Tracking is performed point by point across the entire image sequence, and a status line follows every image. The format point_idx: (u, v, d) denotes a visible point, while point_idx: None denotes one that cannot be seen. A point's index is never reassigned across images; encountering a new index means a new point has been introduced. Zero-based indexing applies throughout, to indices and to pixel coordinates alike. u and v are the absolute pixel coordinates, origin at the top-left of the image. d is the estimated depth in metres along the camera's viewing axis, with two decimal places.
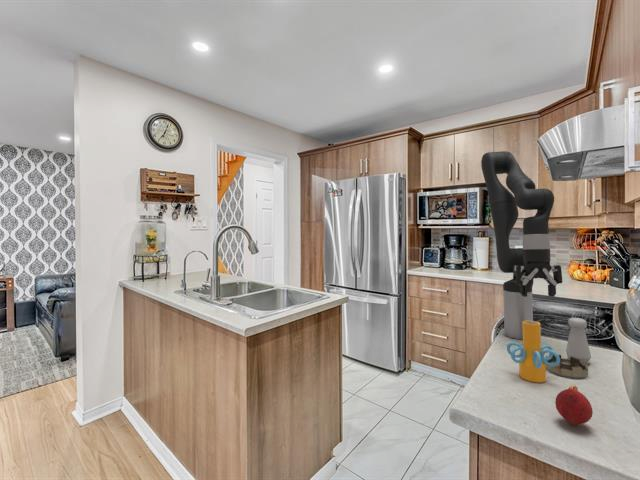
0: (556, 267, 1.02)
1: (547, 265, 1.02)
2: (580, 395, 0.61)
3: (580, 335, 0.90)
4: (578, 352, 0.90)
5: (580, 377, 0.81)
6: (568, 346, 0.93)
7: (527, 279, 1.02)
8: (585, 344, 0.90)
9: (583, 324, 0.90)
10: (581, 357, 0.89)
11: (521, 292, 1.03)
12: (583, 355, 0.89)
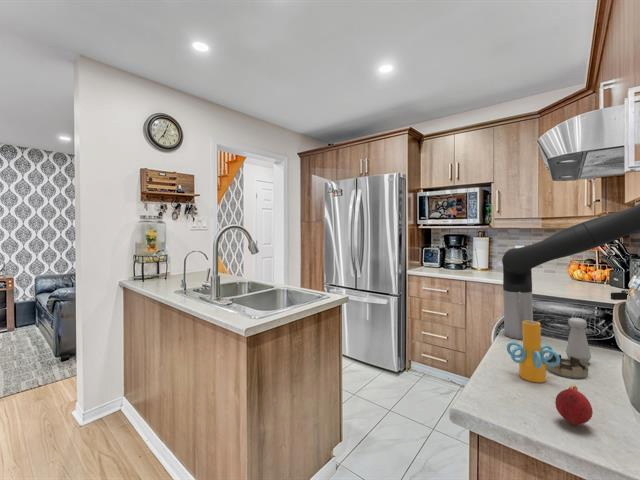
0: None
1: None
2: (580, 395, 0.61)
3: (580, 335, 0.90)
4: (578, 352, 0.90)
5: (580, 377, 0.81)
6: (568, 346, 0.93)
7: None
8: (585, 344, 0.90)
9: (583, 324, 0.90)
10: (581, 357, 0.89)
11: None
12: (583, 355, 0.89)
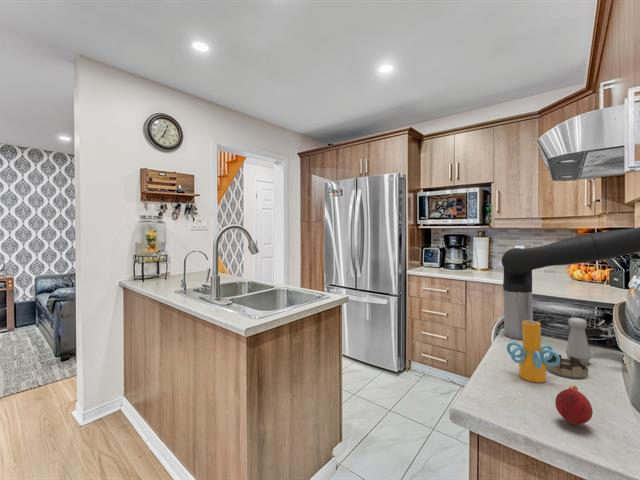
0: None
1: None
2: (580, 395, 0.61)
3: (580, 335, 0.90)
4: (578, 352, 0.90)
5: (580, 377, 0.81)
6: (568, 346, 0.93)
7: None
8: (585, 344, 0.90)
9: (583, 324, 0.90)
10: (581, 357, 0.89)
11: (615, 343, 0.86)
12: (583, 355, 0.89)
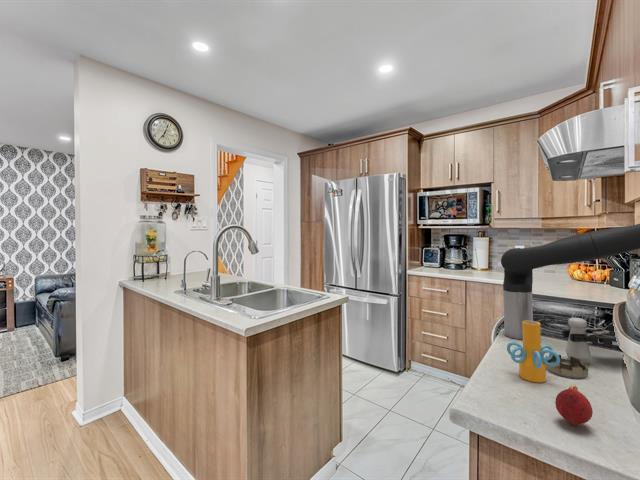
0: None
1: None
2: (580, 395, 0.61)
3: None
4: (578, 352, 0.90)
5: (580, 377, 0.81)
6: (568, 346, 0.93)
7: None
8: (585, 344, 0.90)
9: (583, 324, 0.90)
10: (581, 357, 0.89)
11: (578, 339, 0.89)
12: (582, 355, 0.89)
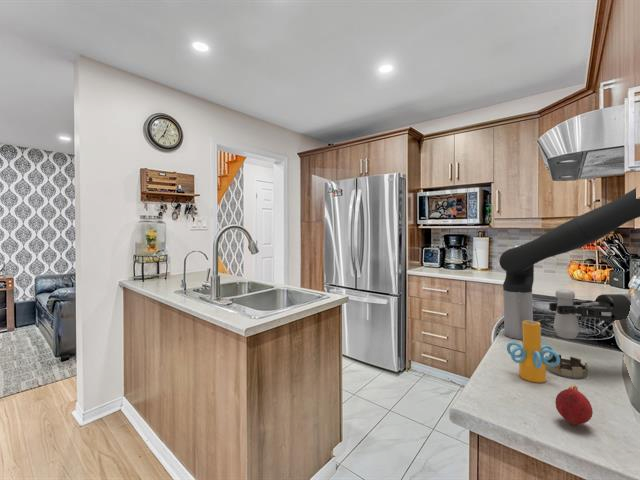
0: None
1: None
2: (580, 395, 0.61)
3: None
4: (566, 325, 0.84)
5: (580, 377, 0.81)
6: (555, 320, 0.86)
7: None
8: (573, 316, 0.84)
9: (571, 295, 0.84)
10: (569, 330, 0.83)
11: (565, 311, 0.83)
12: (571, 328, 0.83)
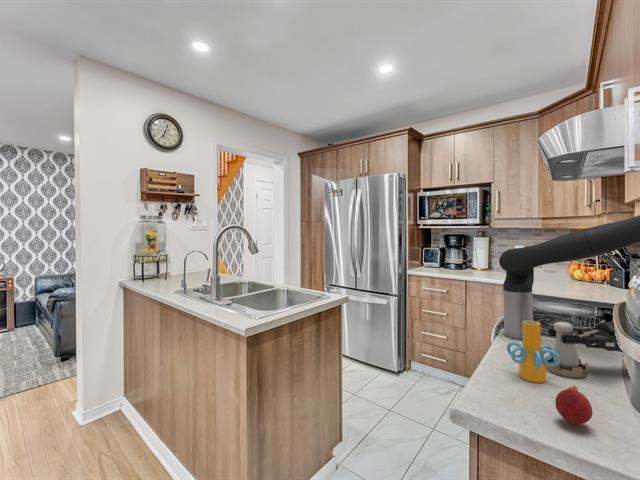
0: None
1: None
2: (580, 395, 0.61)
3: None
4: (566, 359, 0.84)
5: (580, 377, 0.81)
6: None
7: None
8: (572, 350, 0.84)
9: (569, 328, 0.84)
10: (569, 364, 0.83)
11: (569, 341, 0.82)
12: (570, 362, 0.83)
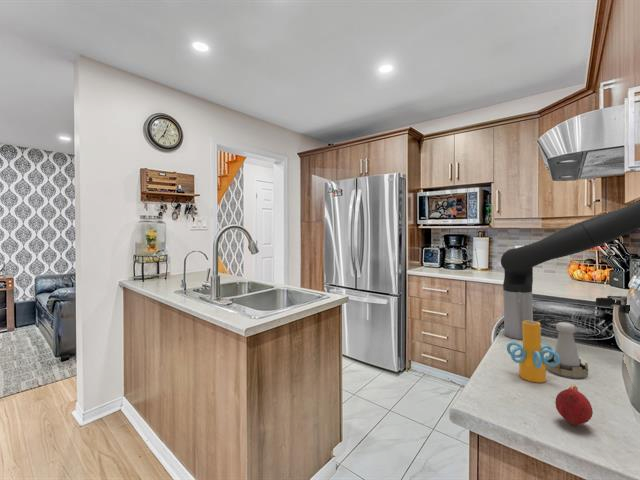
0: None
1: None
2: (580, 395, 0.61)
3: (568, 341, 0.84)
4: (566, 359, 0.84)
5: (580, 377, 0.81)
6: None
7: None
8: (574, 351, 0.84)
9: (572, 329, 0.84)
10: (569, 365, 0.83)
11: (629, 310, 0.80)
12: (571, 363, 0.83)
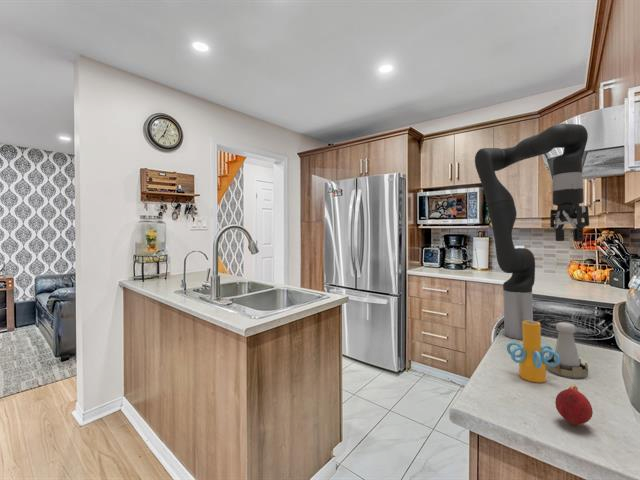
0: None
1: None
2: (580, 395, 0.61)
3: (568, 341, 0.84)
4: (566, 359, 0.84)
5: (580, 377, 0.81)
6: None
7: (581, 221, 0.92)
8: (574, 351, 0.84)
9: (572, 329, 0.84)
10: (569, 365, 0.83)
11: (581, 236, 0.90)
12: (571, 363, 0.83)
